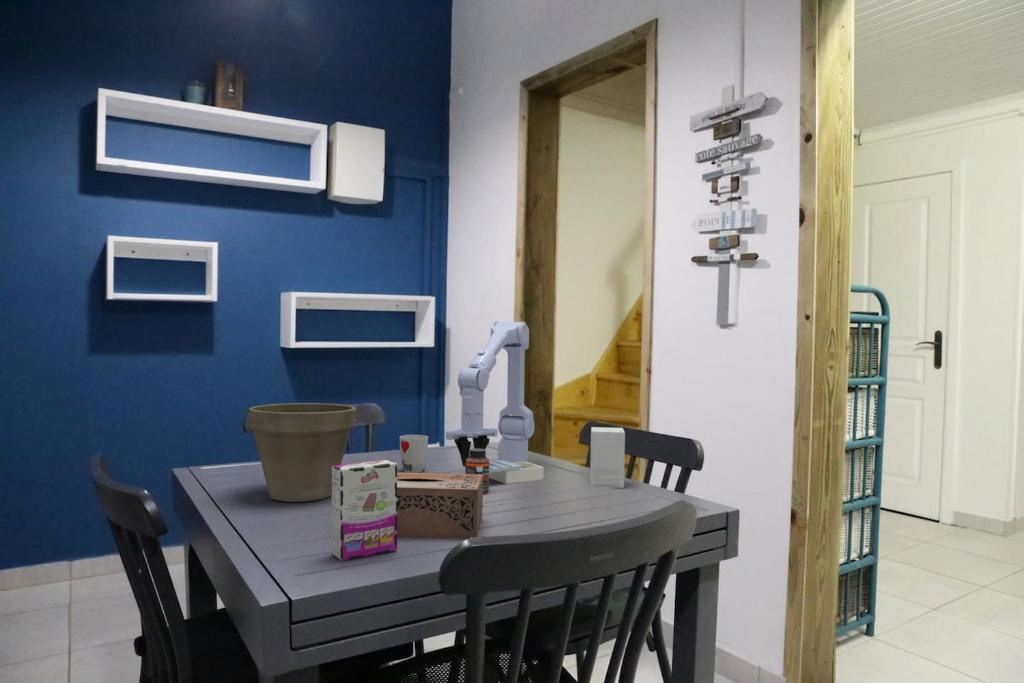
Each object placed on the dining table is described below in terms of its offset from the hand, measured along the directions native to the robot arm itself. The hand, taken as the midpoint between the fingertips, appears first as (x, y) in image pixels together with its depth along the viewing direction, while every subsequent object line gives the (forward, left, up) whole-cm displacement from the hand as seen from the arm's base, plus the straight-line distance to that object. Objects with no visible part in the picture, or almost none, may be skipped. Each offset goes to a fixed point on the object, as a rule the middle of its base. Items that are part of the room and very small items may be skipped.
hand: (471, 465), depth 188 cm
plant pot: (-10, -41, -6) cm, 43 cm away
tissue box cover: (+28, -28, -6) cm, 40 cm away
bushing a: (-2, +17, -5) cm, 18 cm away
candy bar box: (+39, -44, -6) cm, 59 cm away
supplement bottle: (+9, -3, -6) cm, 11 cm away
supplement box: (+15, +34, -6) cm, 37 cm away
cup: (-24, -5, -6) cm, 25 cm away
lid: (0, +6, -1) cm, 6 cm away
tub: (0, +14, -5) cm, 15 cm away
